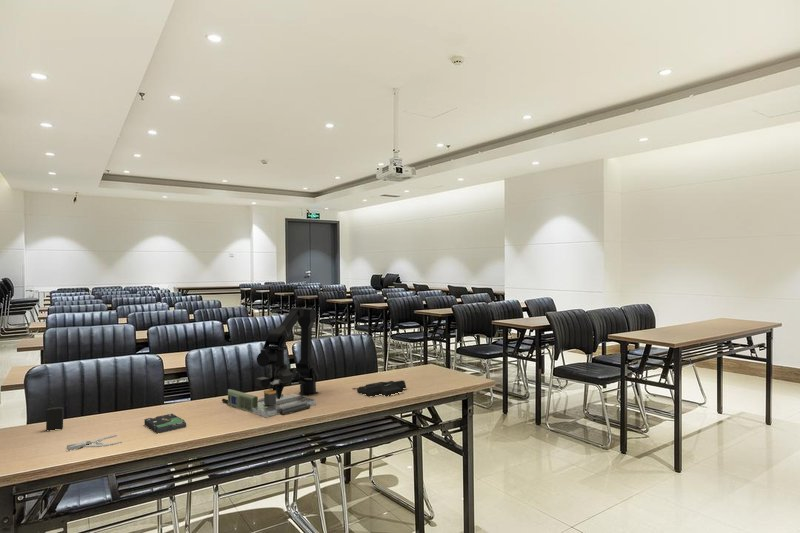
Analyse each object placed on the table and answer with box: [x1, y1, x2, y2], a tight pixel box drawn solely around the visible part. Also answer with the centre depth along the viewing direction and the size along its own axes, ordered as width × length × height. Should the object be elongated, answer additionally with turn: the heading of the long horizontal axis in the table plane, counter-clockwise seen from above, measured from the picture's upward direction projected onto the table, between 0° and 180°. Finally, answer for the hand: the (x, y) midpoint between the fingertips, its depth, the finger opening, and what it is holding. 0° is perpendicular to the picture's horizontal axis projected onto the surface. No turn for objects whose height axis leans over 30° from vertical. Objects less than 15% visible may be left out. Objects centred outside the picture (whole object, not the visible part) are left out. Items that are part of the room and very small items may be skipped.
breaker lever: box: [263, 388, 276, 405], centre depth 201 cm, size 3×4×6 cm
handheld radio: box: [221, 388, 259, 414], centre depth 206 cm, size 7×3×25 cm
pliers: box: [66, 434, 123, 452], centre depth 163 cm, size 10×2×15 cm
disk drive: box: [144, 413, 187, 434], centre depth 182 cm, size 10×3×15 cm
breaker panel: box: [252, 393, 317, 418], centre depth 205 cm, size 24×16×2 cm, turn 136°
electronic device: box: [352, 380, 407, 397], centre depth 234 cm, size 21×30×5 cm
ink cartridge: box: [45, 406, 64, 432], centre depth 180 cm, size 5×2×8 cm, turn 119°
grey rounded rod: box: [258, 393, 284, 402], centre depth 212 cm, size 13×4×3 cm, turn 136°
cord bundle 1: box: [279, 401, 311, 416], centre depth 199 cm, size 13×4×3 cm, turn 136°
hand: (278, 399), depth 204 cm, fingers closed
